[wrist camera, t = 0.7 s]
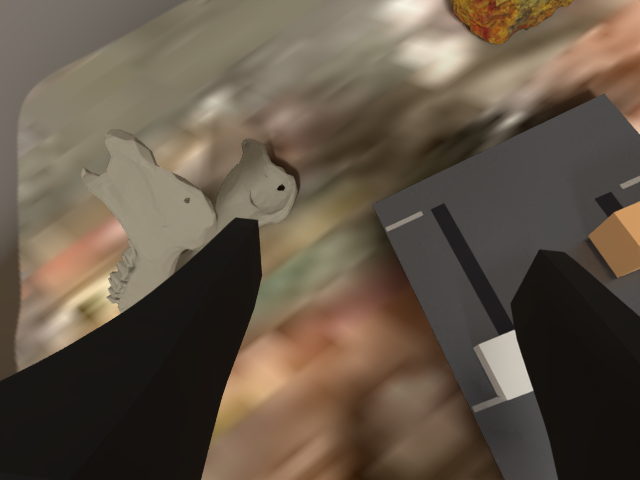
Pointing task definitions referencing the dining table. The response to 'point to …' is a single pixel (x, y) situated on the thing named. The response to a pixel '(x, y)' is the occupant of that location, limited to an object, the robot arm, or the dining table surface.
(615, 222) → the fader orange
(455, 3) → the rock
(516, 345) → the block
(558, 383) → the robot arm
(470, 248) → the panel
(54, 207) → the dining table surface
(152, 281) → the jawbone
